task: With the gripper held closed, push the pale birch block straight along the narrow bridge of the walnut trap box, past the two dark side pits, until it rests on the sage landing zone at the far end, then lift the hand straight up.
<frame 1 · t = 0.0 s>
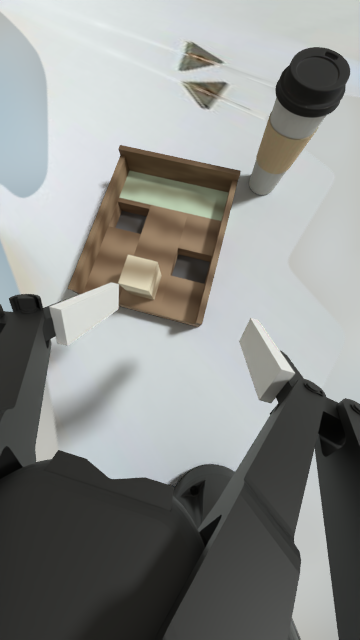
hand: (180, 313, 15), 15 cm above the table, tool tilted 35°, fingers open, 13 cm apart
birch block: (145, 284, 29), point 2 cm above the table, touching trap box
coffee cup: (260, 185, 35), on the table
trap box: (161, 246, 33), on the table
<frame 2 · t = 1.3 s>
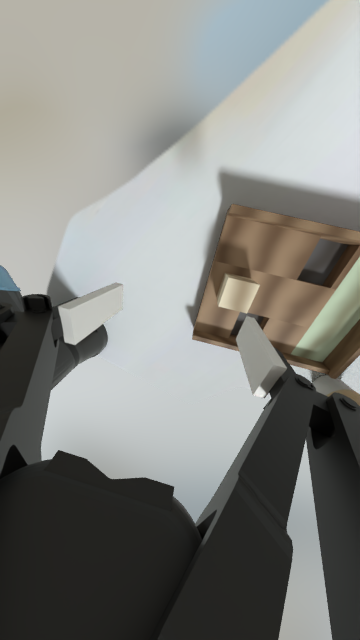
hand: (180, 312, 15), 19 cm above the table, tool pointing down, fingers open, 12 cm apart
birch block: (233, 288, 29), point 2 cm above the table, touching trap box
coffee cup: (324, 382, 38), on the table
trap box: (279, 297, 31), on the table
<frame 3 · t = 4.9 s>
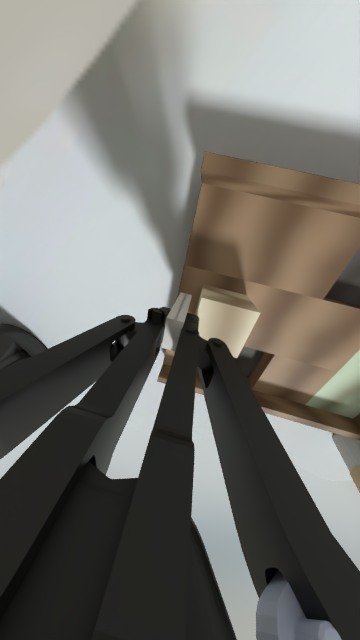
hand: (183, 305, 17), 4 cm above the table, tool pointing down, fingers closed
birch block: (217, 309, 18), point 2 cm above the table, touching gripper, trap box
coffee cup: (351, 436, 27), on the table
trap box: (290, 321, 20), on the table
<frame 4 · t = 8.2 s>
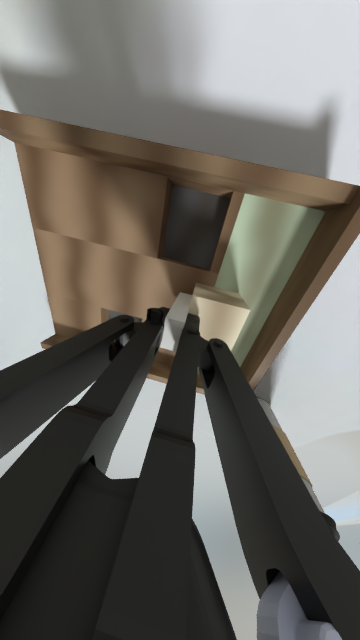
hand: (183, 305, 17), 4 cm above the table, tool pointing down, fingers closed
birch block: (210, 307, 18), point 3 cm above the table, touching gripper, trap box
coffee cup: (252, 406, 28), on the table
trap box: (158, 287, 21), on the table
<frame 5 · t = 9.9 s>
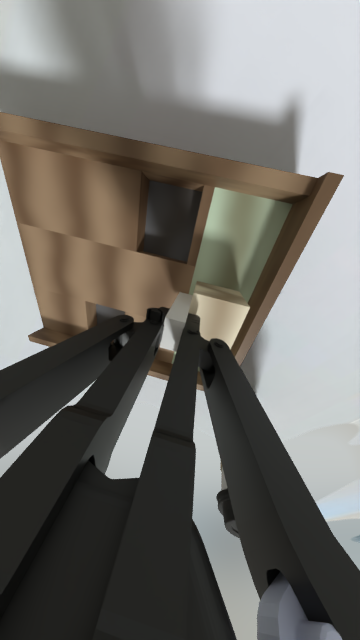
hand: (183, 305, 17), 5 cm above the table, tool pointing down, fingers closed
birch block: (211, 305, 19), point 3 cm above the table, touching gripper, trap box
coffee cup: (238, 400, 29), on the table
trap box: (141, 281, 21), on the table
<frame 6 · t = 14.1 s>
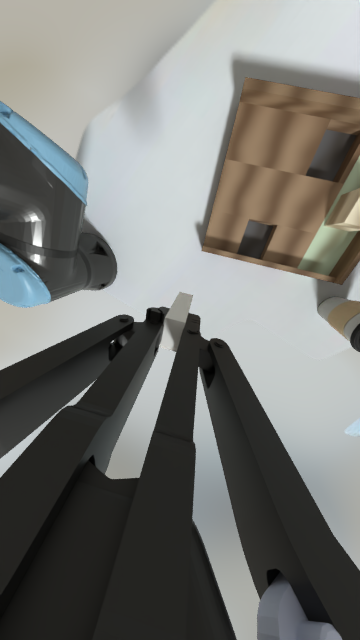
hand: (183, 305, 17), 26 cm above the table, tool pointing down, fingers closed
birch block: (345, 213, 29), point 2 cm above the table, touching trap box
coffee cup: (330, 307, 39), on the table
trap box: (287, 205, 32), on the table
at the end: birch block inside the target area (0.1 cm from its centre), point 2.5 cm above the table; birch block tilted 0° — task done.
